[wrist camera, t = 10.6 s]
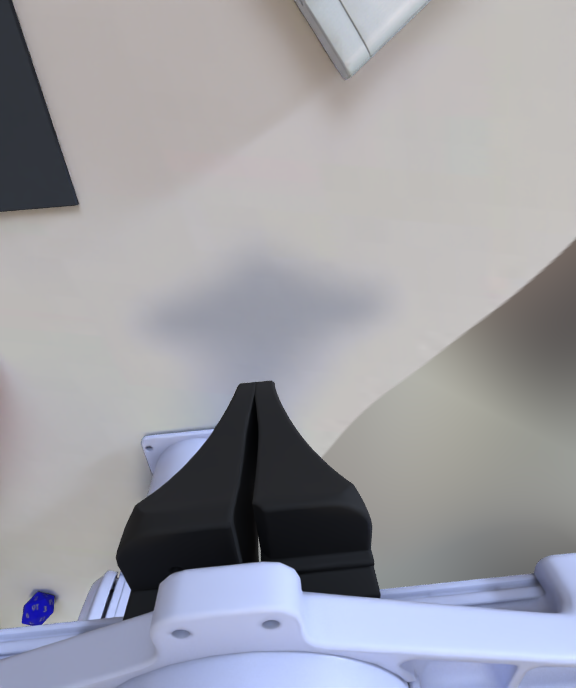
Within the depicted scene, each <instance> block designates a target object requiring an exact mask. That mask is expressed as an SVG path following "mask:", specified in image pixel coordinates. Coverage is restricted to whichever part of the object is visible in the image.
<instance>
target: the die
mask: <svg viewBox="0 0 576 688" xmlns="http://www.w3.org/2000/svg"><path fill="white" fill-rule="evenodd" d="M53 611H54V595H50V594H46V593H42V592H37V593H36V594H35V595H34V596H33V597H32V598H31V599H30V600H29V601H28V602H27V603H26V604H25V605H24V609H23V617H22V623H23V624H27V625H31V626H35V625H42V624H43V623H44V622H45V621H46V620H47V618H48V617H49V616H50V615H51V614H52V613H53Z"/></svg>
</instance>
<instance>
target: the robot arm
mask: <svg viewBox="0 0 576 688" xmlns="http://www.w3.org/2000/svg"><path fill="white" fill-rule="evenodd" d="M141 445H142V448H143V451H144V454H145V456H146V459H147V462H148V465H149V467H150V470H151V473H152V476H153V478H152V481H151V484H150V487H149V491H148V494H147V497H146V498H145V499H144V500H142V501H141V502H140V503H138V504H137V505H135V507H134V509H133V512H132V514H131V516H130V518H129V520H128V522H127V524H126V526H125V529H124V532H123V535H122V538H121V541H120V544H119V547H118V550H117V555H116V560H117V564H118V566H119V568H120V570H121V572H120V575H119V578H117V575H118V572H115V571H107V572H106V573H105V574H104V576H102V577H101V578H99V579H98V580H96V581H95V582H94V583H93V585H92V587H91V589H90V591H89V593H88V595H87V597H86V600H85V602H84V605H83V607H82V610H81V613H80V615H79V618H78V621H74V622H64V623H54V624H45V625H35V626H26V627H16V628H7V629H0V688H576V553H568V554H558V555H550V556H546V557H544V558H542V559H540V561H539V562H538V563H537V565H536V567H535V571H534V573H532V574H522V575H513V576H504V577H494V578H484V579H476V580H465V581H456V582H446V583H437V584H428V585H417V586H408V587H398V588H389V589H379V586H378V582H377V578H376V574H375V570H374V559H373V555H372V551H371V538H372V523H371V518H370V516H369V513H368V510H367V508H366V506H365V504H364V502H363V500H362V498H361V496H360V494H359V493H358V491H357V489H356V488H355V486H354V485H353V484H352V483H351V482H349V481H348V480H346V479H345V478H344V477H342V476H341V475H340V474H338V473H337V472H336V471H335V470H334V469H332V468H331V467H330V466H329V465H328V464H327V463H326V462H325V461H324V460H323V459H322V458H321V457H320V456H319V455H318V454H317V453H316V452H315V451H314V450H313V449H312V448H311V447H310V446H309V445H308V444H307V442H306V441H305V440H304V439H303V437H302V436H301V435H300V433H299V432H298V431H297V429H296V428H295V426H294V425H293V423H292V422H291V420H290V419H289V417H288V415H287V413H286V412H285V410H284V408H283V406H282V404H281V402H280V400H279V397H278V395H277V392H276V389H275V383H274V382H273V381H263V382H252V383H241V384H239V385H238V387H237V389H236V392H235V394H234V396H233V398H232V400H231V402H230V404H229V406H228V408H227V409H226V411H225V413H224V415H223V416H222V418H221V420H220V421H219V423H218V424H217V426H216V427H215V429H210V430H200V431H190V432H179V433H169V434H159V435H149V436H144V437H143V438H142V441H141ZM148 446H151V447H148ZM258 537H259V543H260V548H261V562H259V556H258Z"/></svg>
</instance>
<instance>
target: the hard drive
mask: <svg viewBox="0 0 576 688" xmlns="http://www.w3.org/2000/svg"><path fill="white" fill-rule="evenodd" d="M294 1H295V2H296V4H297V5H298V7H299V9H300V10H301V12H302V14H303V15H304V17H305V18H306V20H307V21H308V23H309V25H310V26H311V28H312V29H313V31H314V33H315V34H316V36H317V37H318V39H319V41H320V42H321V44H322V46H323V47H324V49H325V50H326V52H327V54H328V55H329V57H330V58H331V60H332V62H333V63H334V65H335V66H336V68H337V69H338V71H339V73H340V74H341V75H342V77H343V78H344V79H345V80H347V79H349V78H350V77H352V76H353V75H354V74H355V73H356V72H357V71H358V70H359V69H360V68H361V67H362V66H363V65H364V64H365V63H366V62H367V61H368V60H369V59H370V58H371V57H372V56H374V55H375V54H376V53H377V52H378V51H379V50H380V49H381V48H382V47H383V46H384V45H385V44H386V43H387V42H388V41H389V40H390V39H391V38H392V37H393V36H394V35H395V34H396V33H397V32H398V31H399V30H400V29H402V28H403V27H404V26H405V25H406V24H407V23H408V22H409V21H410V20H411V19H412V18H413V17H414V16H415V15H416V14H417V13H418V12H419V11H420V10H421V9H422V8H423V7H424V6H426V5H427V4H428V3H429V2H430V1H431V0H294Z"/></svg>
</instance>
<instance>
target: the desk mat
mask: <svg viewBox="0 0 576 688" xmlns="http://www.w3.org/2000/svg"><path fill="white" fill-rule="evenodd" d="M78 204H79V203H78V200H77V197H76V194H75V191H74V188H73V185H72V182H71V179H70V176H69V173H68V170H67V167H66V164H65V161H64V158H63V155H62V152H61V149H60V146H59V143H58V140H57V137H56V134H55V131H54V128H53V125H52V122H51V119H50V116H49V112H48V109H47V106H46V103H45V100H44V97H43V94H42V91H41V88H40V85H39V82H38V79H37V76H36V73H35V70H34V67H33V64H32V61H31V58H30V55H29V52H28V49H27V46H26V43H25V40H24V37H23V34H22V31H21V28H20V25H19V22H18V19H17V16H16V13H15V10H14V7H13V4H12V1H11V0H0V212H3V211H15V210H27V209H38V208H50V207H62V206H74V205H78Z"/></svg>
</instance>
